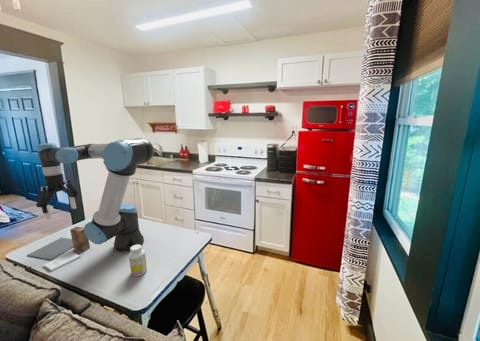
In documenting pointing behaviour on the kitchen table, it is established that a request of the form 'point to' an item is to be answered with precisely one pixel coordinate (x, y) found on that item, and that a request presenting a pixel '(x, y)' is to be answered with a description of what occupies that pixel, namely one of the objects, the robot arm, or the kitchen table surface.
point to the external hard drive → (62, 261)
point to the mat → (53, 249)
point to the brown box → (79, 239)
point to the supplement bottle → (137, 260)
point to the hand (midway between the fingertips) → (62, 213)
